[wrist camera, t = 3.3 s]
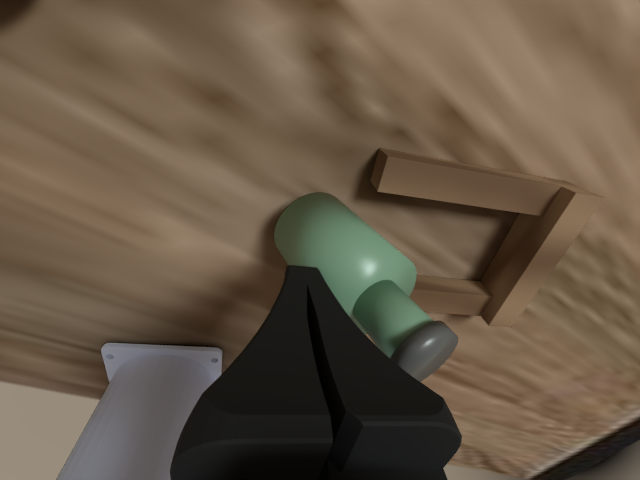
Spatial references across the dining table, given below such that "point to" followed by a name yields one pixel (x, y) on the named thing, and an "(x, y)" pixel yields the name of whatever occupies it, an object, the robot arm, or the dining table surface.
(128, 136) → the dining table surface
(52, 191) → the dining table surface
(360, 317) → the bottle
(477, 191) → the cradle
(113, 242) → the dining table surface
